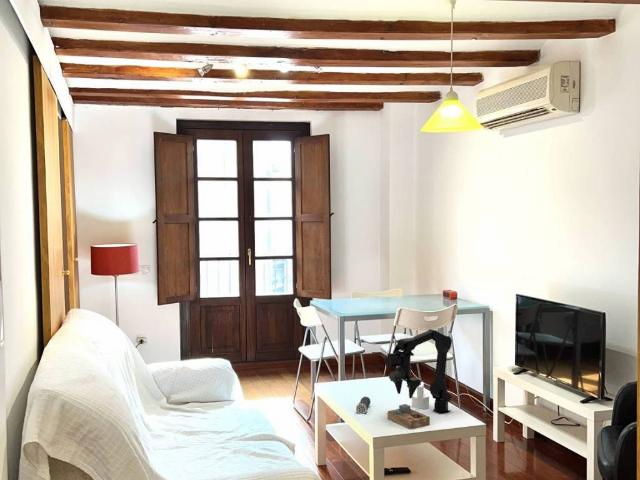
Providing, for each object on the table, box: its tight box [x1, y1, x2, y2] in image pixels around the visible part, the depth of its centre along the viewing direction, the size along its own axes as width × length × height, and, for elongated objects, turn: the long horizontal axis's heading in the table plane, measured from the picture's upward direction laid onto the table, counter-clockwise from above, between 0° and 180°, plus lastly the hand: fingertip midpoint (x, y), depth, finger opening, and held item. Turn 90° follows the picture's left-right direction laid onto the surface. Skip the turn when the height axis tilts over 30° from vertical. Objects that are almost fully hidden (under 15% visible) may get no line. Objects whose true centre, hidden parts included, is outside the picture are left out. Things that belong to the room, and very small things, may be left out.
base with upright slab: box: [411, 381, 430, 410], centre depth 344 cm, size 9×9×12 cm
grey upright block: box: [398, 403, 412, 414], centre depth 324 cm, size 4×4×7 cm
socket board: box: [387, 408, 431, 430], centre depth 320 cm, size 12×18×5 cm, turn 31°
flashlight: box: [355, 396, 372, 415], centre depth 340 cm, size 15×5×5 cm, turn 166°
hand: (404, 396), depth 323 cm, fingers open, 9 cm apart
